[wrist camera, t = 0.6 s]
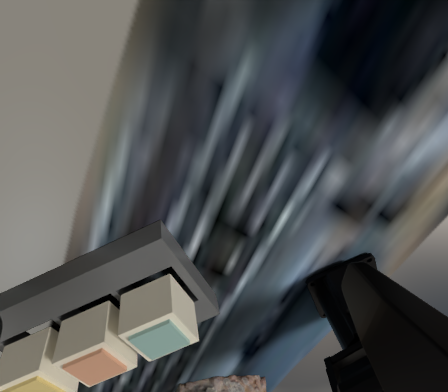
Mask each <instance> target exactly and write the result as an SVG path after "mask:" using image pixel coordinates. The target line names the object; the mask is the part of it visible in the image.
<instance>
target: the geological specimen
mask: <svg viewBox="0 0 448 392" xmlns="http://www.w3.org/2000/svg"><path fill="white" fill-rule="evenodd" d="M176 392H266V380H265V377H259V376H257V375H253V376H251V375H248V376H236V375H230V376H228V377H220V376H217V377H212V378H209V379H204V380H199V381H195V382H187V383H185V384H179V386H178V388H177V390H176Z"/></svg>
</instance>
